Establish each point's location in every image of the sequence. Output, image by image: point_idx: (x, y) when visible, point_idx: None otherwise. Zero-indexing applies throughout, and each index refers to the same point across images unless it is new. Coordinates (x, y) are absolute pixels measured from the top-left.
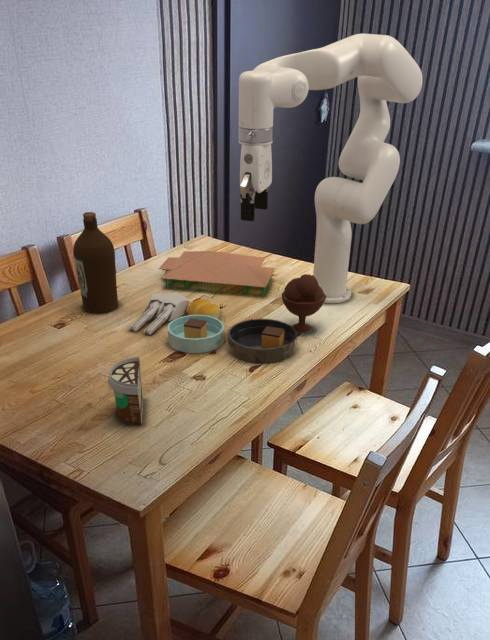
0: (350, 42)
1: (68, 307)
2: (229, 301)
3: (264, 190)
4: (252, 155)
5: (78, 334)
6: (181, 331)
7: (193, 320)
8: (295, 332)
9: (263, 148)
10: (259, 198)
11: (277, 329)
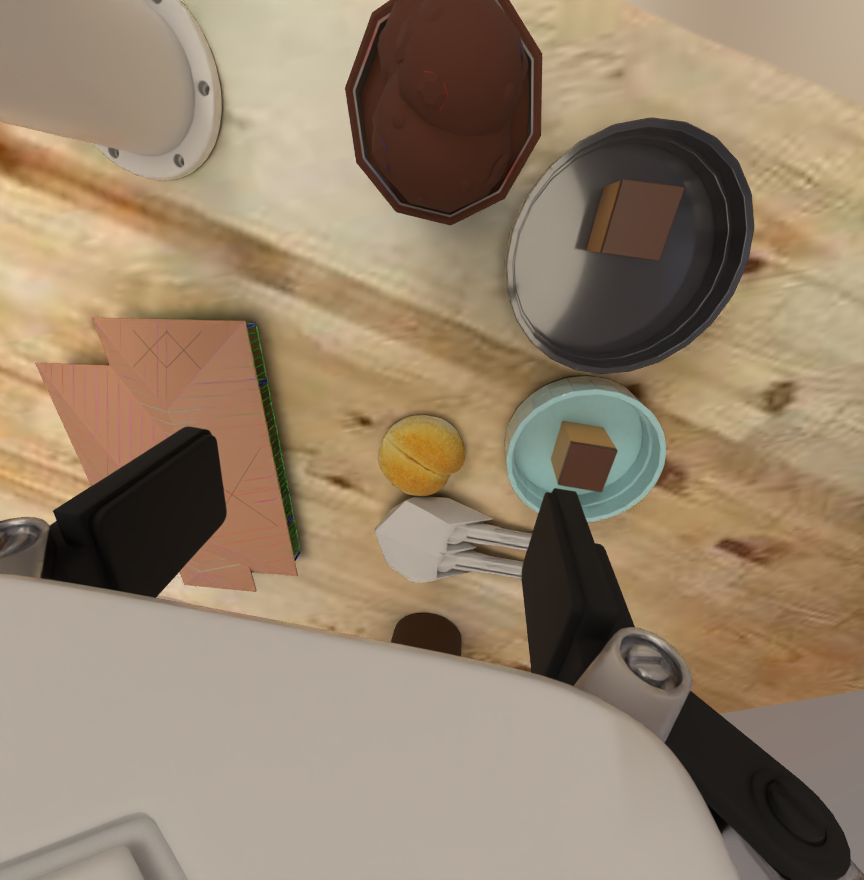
0: None
1: None
2: (318, 407)
3: (63, 558)
4: None
5: None
6: (532, 483)
7: (573, 475)
8: (612, 132)
9: None
10: (166, 540)
11: (630, 205)
